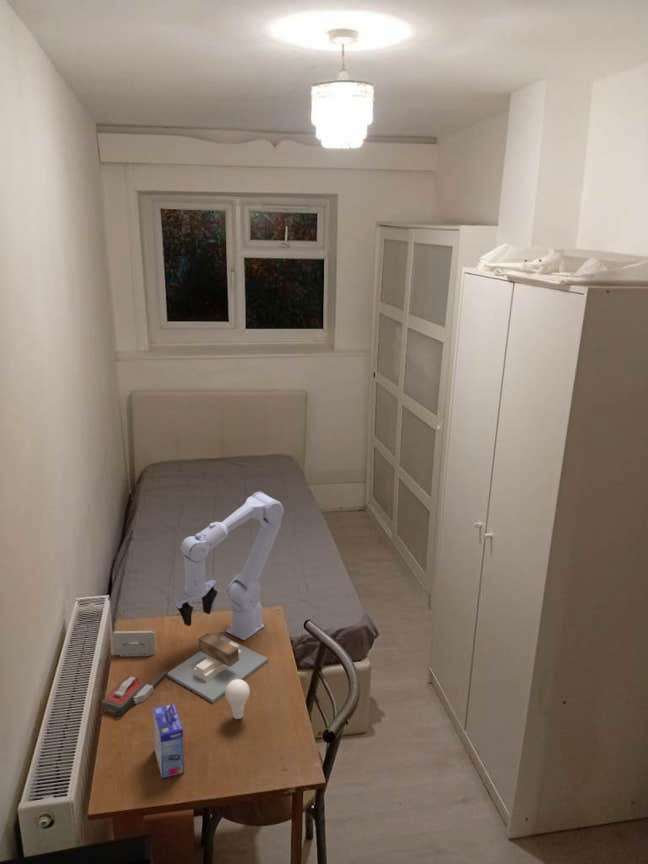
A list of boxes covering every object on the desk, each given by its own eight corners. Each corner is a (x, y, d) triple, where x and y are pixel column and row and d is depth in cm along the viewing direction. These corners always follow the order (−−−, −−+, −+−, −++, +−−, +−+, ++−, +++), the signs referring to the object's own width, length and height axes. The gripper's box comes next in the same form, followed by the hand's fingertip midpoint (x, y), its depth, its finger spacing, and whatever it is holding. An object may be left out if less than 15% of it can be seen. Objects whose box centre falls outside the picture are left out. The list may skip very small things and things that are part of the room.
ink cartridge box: (186, 773, 151) (183, 721, 147) (161, 780, 149) (158, 728, 145) (177, 743, 160) (174, 693, 155) (154, 749, 158) (150, 699, 153)
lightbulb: (240, 706, 172) (239, 670, 169) (255, 718, 168) (254, 682, 165) (221, 717, 168) (219, 681, 165) (235, 730, 164) (234, 693, 161)
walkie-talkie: (125, 723, 166) (170, 675, 184) (124, 708, 165) (169, 662, 183) (97, 713, 169) (144, 667, 187) (95, 699, 168) (143, 654, 186)
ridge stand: (222, 638, 200) (222, 625, 199) (267, 661, 190) (267, 648, 189) (167, 676, 183) (166, 662, 182) (213, 703, 173) (212, 689, 172)
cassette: (113, 657, 191) (111, 634, 189) (115, 653, 193) (112, 630, 191) (155, 656, 192) (153, 633, 190) (156, 652, 194) (154, 629, 191)
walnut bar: (238, 660, 183) (238, 648, 182) (229, 667, 181) (229, 654, 179) (208, 644, 190) (207, 632, 189) (199, 650, 187) (198, 638, 186)
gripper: (204, 563, 196) (205, 603, 200) (166, 583, 185) (169, 625, 189) (221, 570, 192) (222, 611, 196) (183, 591, 181) (185, 634, 185)
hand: (197, 618), depth 192 cm, fingers open, 7 cm apart
